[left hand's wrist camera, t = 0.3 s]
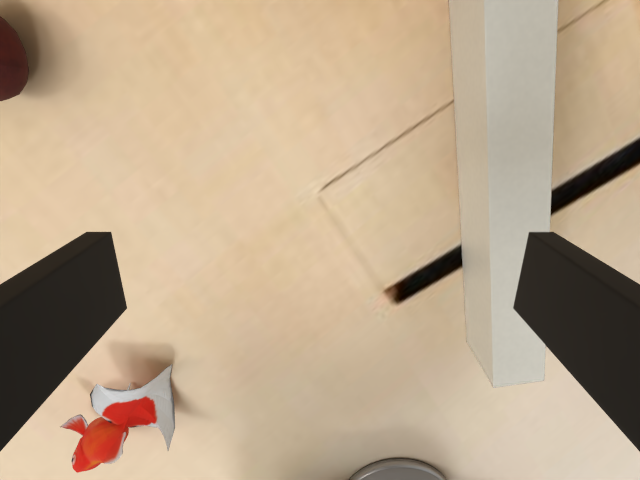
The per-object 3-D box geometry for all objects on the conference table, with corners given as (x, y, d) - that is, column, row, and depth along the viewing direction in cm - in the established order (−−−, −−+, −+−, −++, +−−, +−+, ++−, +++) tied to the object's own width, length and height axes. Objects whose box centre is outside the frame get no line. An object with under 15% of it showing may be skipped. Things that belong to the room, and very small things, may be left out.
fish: (19, 409, 43) (12, 489, 35) (143, 320, 46) (161, 375, 39) (89, 445, 50) (95, 519, 42) (192, 365, 53) (216, 420, 46)
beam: (509, 335, 45) (544, 380, 38) (466, 341, 45) (493, 388, 38) (506, -412, 25) (581, -611, 18) (427, -390, 25) (470, -578, 18)
